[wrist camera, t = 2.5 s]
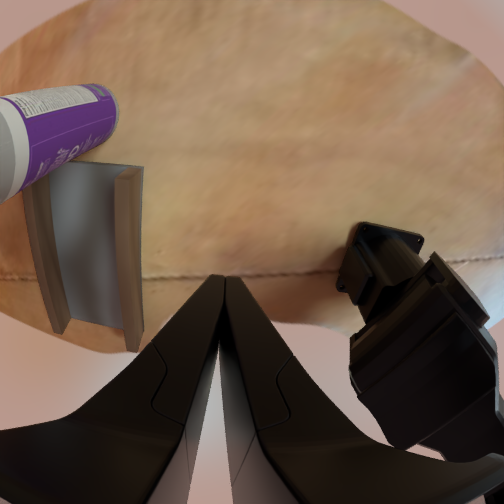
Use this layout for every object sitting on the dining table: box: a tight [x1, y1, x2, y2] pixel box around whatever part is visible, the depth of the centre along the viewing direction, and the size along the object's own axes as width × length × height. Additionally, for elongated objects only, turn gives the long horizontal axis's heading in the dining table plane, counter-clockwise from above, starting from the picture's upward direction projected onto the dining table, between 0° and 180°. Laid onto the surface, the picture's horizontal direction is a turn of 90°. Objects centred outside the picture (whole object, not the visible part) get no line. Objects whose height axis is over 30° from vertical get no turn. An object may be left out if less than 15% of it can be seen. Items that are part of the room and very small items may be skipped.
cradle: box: [22, 161, 144, 353], centre depth 22 cm, size 9×16×3 cm, turn 169°
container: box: [0, 84, 119, 204], centre depth 11 cm, size 5×5×15 cm
